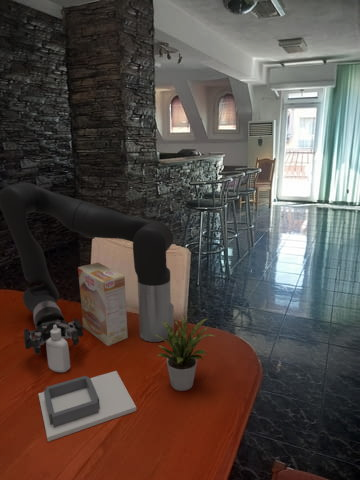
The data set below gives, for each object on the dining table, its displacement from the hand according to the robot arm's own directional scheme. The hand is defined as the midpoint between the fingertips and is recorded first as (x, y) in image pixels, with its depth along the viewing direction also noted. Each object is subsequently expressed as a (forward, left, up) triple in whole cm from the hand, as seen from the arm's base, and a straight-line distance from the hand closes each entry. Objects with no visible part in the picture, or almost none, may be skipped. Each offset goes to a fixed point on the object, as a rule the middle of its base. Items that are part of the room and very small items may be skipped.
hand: (58, 346), depth 90 cm
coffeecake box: (-15, -14, -7) cm, 22 cm away
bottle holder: (-3, +14, -7) cm, 16 cm away
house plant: (-26, +18, -7) cm, 33 cm away
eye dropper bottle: (0, -2, -7) cm, 7 cm away
